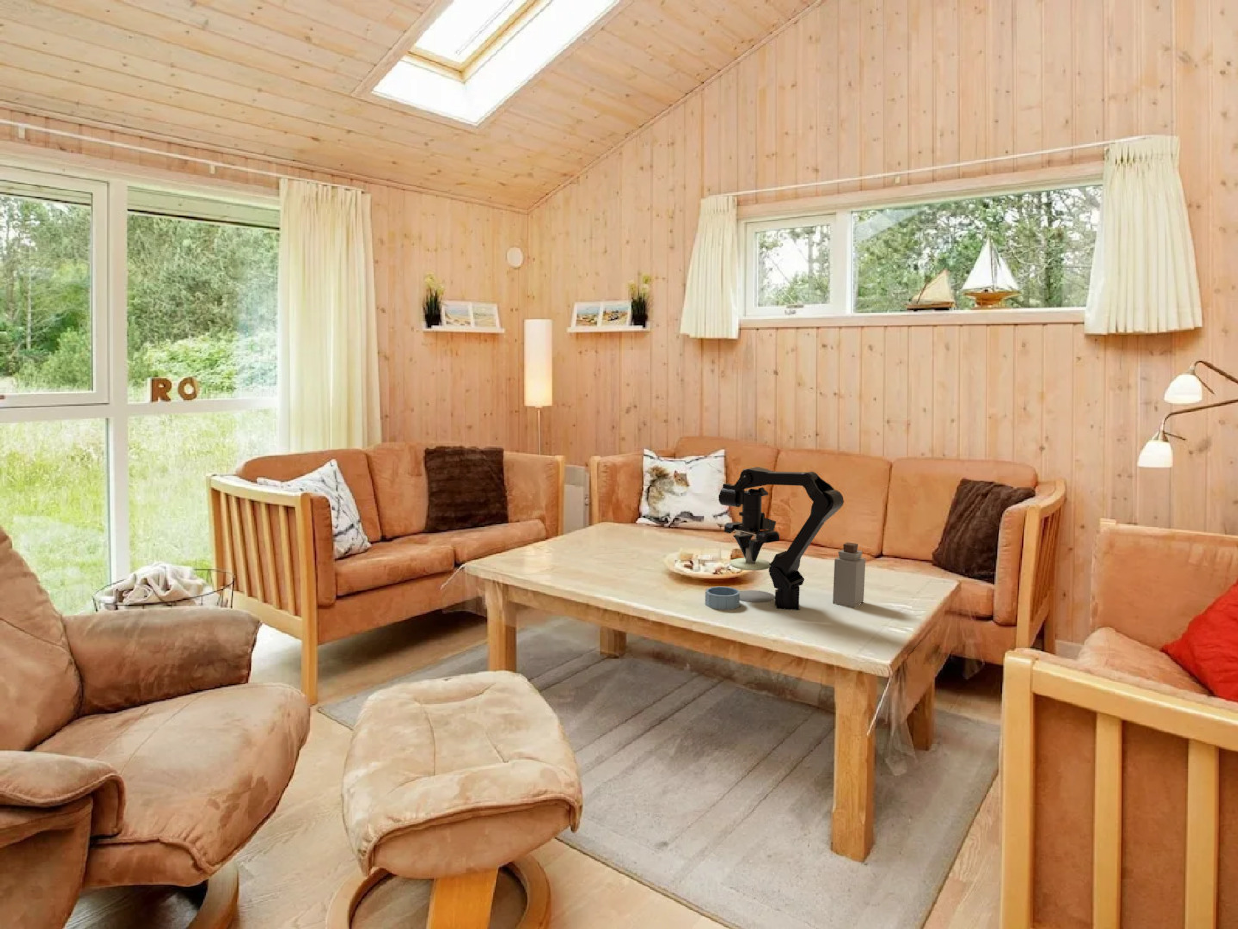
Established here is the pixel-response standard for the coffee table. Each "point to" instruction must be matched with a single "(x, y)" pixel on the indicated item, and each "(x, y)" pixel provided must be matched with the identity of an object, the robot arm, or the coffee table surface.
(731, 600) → the bowl
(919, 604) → the coffee table surface
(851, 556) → the perfume bottle
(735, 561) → the lid
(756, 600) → the mat
